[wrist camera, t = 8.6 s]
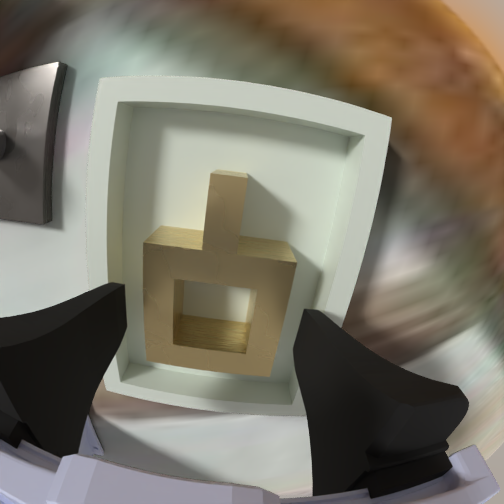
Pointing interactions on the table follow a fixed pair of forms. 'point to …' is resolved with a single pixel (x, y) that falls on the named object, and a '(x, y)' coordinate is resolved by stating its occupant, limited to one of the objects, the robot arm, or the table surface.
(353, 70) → the table surface
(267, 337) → the square frame with tab
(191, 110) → the tray
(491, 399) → the table surface
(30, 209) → the square base with knob
